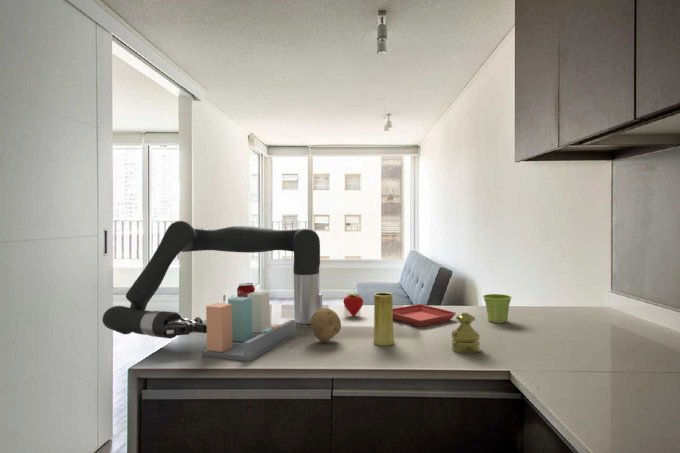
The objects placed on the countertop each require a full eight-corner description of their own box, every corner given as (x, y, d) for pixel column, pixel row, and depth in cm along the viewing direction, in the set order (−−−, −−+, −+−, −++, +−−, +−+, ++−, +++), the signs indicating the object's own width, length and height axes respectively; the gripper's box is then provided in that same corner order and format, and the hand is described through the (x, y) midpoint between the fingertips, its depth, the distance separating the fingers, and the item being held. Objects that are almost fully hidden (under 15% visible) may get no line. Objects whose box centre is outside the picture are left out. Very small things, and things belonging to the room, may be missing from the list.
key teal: (228, 340, 119) (227, 299, 119) (238, 336, 123) (237, 296, 123) (243, 341, 117) (242, 300, 117) (252, 337, 121) (251, 297, 121)
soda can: (251, 316, 153) (250, 285, 153) (234, 316, 154) (233, 285, 154) (258, 312, 160) (257, 282, 160) (242, 312, 161) (241, 282, 161)
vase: (396, 340, 119) (395, 292, 119) (392, 346, 114) (391, 296, 113) (376, 339, 121) (375, 291, 121) (371, 345, 116) (370, 295, 115)
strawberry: (344, 313, 155) (344, 287, 155) (364, 314, 154) (363, 288, 154) (342, 317, 149) (341, 290, 149) (362, 317, 148) (362, 290, 148)
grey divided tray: (202, 355, 110) (202, 335, 109) (255, 331, 133) (254, 314, 133) (248, 361, 104) (248, 340, 104) (295, 335, 127) (295, 317, 127)
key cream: (248, 331, 127) (247, 293, 127) (256, 328, 132) (255, 291, 131) (261, 333, 125) (261, 294, 125) (269, 329, 130) (268, 292, 129)
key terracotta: (206, 349, 110) (205, 306, 110) (217, 345, 114) (216, 302, 114) (222, 351, 108) (221, 307, 108) (232, 346, 112) (231, 304, 112)
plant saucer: (457, 321, 142) (457, 312, 142) (420, 329, 132) (420, 319, 132) (420, 312, 157) (420, 303, 157) (384, 319, 147) (384, 310, 147)
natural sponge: (327, 335, 126) (326, 303, 126) (347, 341, 120) (347, 307, 120) (304, 342, 120) (304, 308, 120) (325, 348, 113) (324, 313, 113)
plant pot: (482, 323, 137) (482, 298, 137) (483, 317, 146) (483, 293, 145) (512, 325, 133) (512, 299, 133) (511, 319, 142) (511, 294, 142)
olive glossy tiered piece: (476, 355, 105) (476, 317, 105) (448, 351, 109) (447, 314, 109) (483, 348, 111) (482, 311, 111) (456, 344, 115) (455, 309, 115)
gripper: (142, 316, 113) (190, 321, 106) (177, 306, 125) (223, 310, 118) (143, 343, 113) (191, 349, 106) (178, 330, 125) (224, 335, 119)
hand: (208, 328), depth 112 cm, fingers closed
